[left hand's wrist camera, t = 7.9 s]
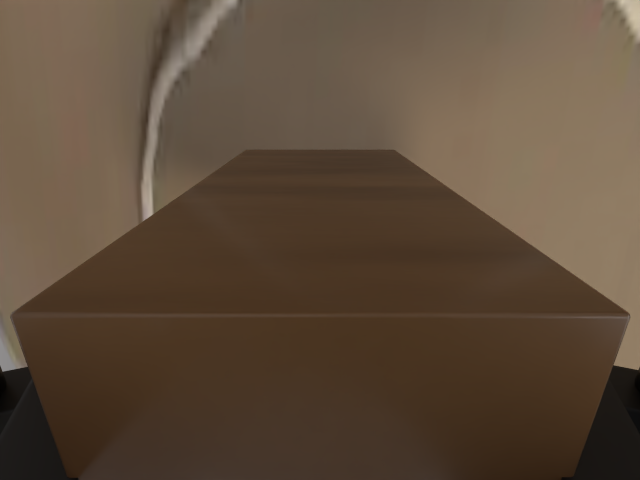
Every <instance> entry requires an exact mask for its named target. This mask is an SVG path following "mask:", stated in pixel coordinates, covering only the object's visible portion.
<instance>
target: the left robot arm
mask: <svg viewBox="0 0 640 480" xmlns="http://www.w3.org/2000/svg"><path fill="white" fill-rule="evenodd" d="M0 480H79V479H78V478H69V477H67V475H66V472H65V469H64V467H63V464H62V461H61V458H60V455H59V453H58V450H57V447H56V444H55V441H54V438H53V436H52V433H51V430H50V427H49V424H48V422H47V419H46V416H45V413H44V410H43V408H42V405H41V402H40V399H39V396H38V394H37V391H36V388H35V385H34V382H33V379H32V377H31V374H30V371H29V368H28V367H25V368H20V369H15V370H10V371H5V372H2V369H1V367H0ZM561 480H640V368H639V370H634V369H629V368H624V367H619V366H614V365H613V367H612V370H611V373H610V376H609V378H608V381H607V384H606V387H605V390H604V393H603V395H602V398H601V401H600V404H599V407H598V409H597V412H596V415H595V418H594V421H593V423H592V426H591V429H590V432H589V435H588V437H587V440H586V443H585V446H584V449H583V451H582V454H581V457H580V460H579V463H578V465H577V468H576V471H575V474H574V476H573V477H562V479H561Z"/></svg>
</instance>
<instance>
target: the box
mask: <svg viewBox="0 0 640 480" xmlns="http://www.w3.org/2000/svg"><path fill="white" fill-rule="evenodd" d="M11 320H12V323H13V326H14V329H15V332H16V334H17V337H18V340H19V343H20V346H21V349H22V351H23V354H24V357H25V360H26V363H27V365H28V368H29V371H30V374H31V377H32V379H33V382H34V385H35V388H36V391H37V394H38V396H39V399H40V402H41V405H42V408H43V410H44V413H45V416H46V419H47V422H48V424H49V427H50V430H51V433H52V436H53V438H54V441H55V444H56V447H57V450H58V453H59V455H60V458H61V461H62V464H63V467H64V469H65V472H66V475H67V477H69V478H78V479H79V480H561V479H562V477H573V476H574V474H575V471H576V468H577V465H578V463H579V460H580V457H581V454H582V451H583V449H584V446H585V443H586V440H587V437H588V435H589V432H590V429H591V426H592V423H593V421H594V418H595V415H596V412H597V409H598V407H599V404H600V401H601V398H602V395H603V393H604V390H605V387H606V384H607V381H608V378H609V376H610V373H611V370H612V367H613V364H614V362H615V359H616V356H617V353H618V350H619V348H620V345H621V342H622V339H623V336H624V334H625V331H626V328H627V325H628V322H629V320H630V314H629V313H628V312H627V311H625V310H624V309H623V308H621V307H620V306H618V305H617V304H615V303H614V302H612V301H611V300H610V299H608V298H607V297H605V296H604V295H602V294H601V293H600V292H598V291H597V290H595V289H594V288H592V287H591V286H589V285H588V284H587V283H585V282H584V281H582V280H581V279H579V278H578V277H576V276H575V275H574V274H572V273H571V272H569V271H568V270H566V269H565V268H563V267H562V266H561V265H559V264H558V263H556V262H555V261H553V260H552V259H551V258H549V257H548V256H546V255H545V254H543V253H542V252H540V251H539V250H538V249H536V248H535V247H533V246H532V245H530V244H529V243H527V242H526V241H525V240H523V239H522V238H520V237H519V236H517V235H516V234H515V233H513V232H512V231H510V230H509V229H507V228H506V227H504V226H503V225H502V224H500V223H499V222H497V221H496V220H494V219H493V218H491V217H490V216H489V215H487V214H486V213H484V212H483V211H481V210H480V209H479V208H477V207H476V206H474V205H473V204H471V203H470V202H468V201H467V200H466V199H464V198H463V197H461V196H460V195H458V194H457V193H455V192H454V191H453V190H451V189H450V188H448V187H447V186H445V185H444V184H443V183H441V182H440V181H438V180H437V179H435V178H434V177H432V176H431V175H430V174H428V173H427V172H425V171H424V170H422V169H421V168H419V167H418V166H417V165H415V164H414V163H412V162H411V161H409V160H408V159H407V158H405V157H404V156H402V155H401V154H399V153H398V152H396V151H395V150H245V151H244V152H242V153H241V154H239V155H238V156H237V157H235V158H234V159H232V160H231V161H229V162H228V163H226V164H225V165H224V166H222V167H221V168H219V169H218V170H216V171H215V172H214V173H212V174H211V175H209V176H208V177H206V178H205V179H204V180H202V181H201V182H199V183H198V184H196V185H195V186H193V187H192V188H191V189H189V190H188V191H186V192H185V193H183V194H182V195H181V196H179V197H178V198H176V199H175V200H173V201H172V202H170V203H169V204H168V205H166V206H165V207H163V208H162V209H160V210H159V211H158V212H156V213H155V214H153V215H152V216H150V217H149V218H147V219H146V220H145V221H143V222H142V223H140V224H139V225H137V226H136V227H135V228H133V229H132V230H130V231H129V232H127V233H126V234H124V235H123V236H122V237H120V238H119V239H117V240H116V241H114V242H113V243H112V244H110V245H109V246H107V247H106V248H104V249H103V250H101V251H100V252H99V253H97V254H96V255H94V256H93V257H91V258H90V259H89V260H87V261H86V262H84V263H83V264H81V265H80V266H78V267H77V268H76V269H74V270H73V271H71V272H70V273H68V274H67V275H66V276H64V277H63V278H61V279H60V280H58V281H57V282H55V283H54V284H53V285H51V286H50V287H48V288H47V289H45V290H44V291H43V292H41V293H40V294H38V295H37V296H35V297H34V298H32V299H31V300H30V301H28V302H27V303H25V304H24V305H22V306H21V307H20V308H18V309H17V310H15V311H14V312H12V314H11Z"/></svg>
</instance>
